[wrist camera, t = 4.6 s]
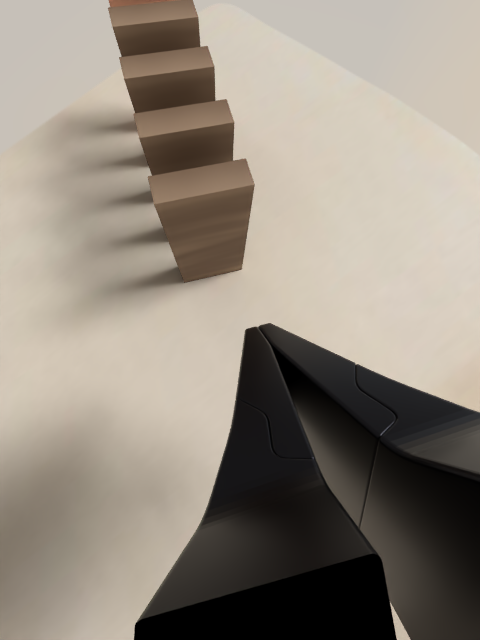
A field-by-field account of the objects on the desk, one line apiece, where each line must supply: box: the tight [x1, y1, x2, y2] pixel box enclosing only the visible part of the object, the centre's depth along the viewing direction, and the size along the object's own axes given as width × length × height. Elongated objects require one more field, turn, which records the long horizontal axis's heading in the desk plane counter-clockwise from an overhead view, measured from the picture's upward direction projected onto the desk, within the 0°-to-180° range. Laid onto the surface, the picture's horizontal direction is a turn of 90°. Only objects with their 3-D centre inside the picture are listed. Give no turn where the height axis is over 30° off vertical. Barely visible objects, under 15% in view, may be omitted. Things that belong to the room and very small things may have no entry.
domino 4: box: [108, 0, 200, 57], centre depth 21 cm, size 2×5×10 cm, turn 106°
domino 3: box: [119, 46, 215, 113], centre depth 20 cm, size 2×5×10 cm, turn 106°
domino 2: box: [134, 99, 234, 176], centre depth 19 cm, size 2×5×10 cm, turn 105°
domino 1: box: [148, 159, 255, 283], centre depth 18 cm, size 2×5×10 cm, turn 105°
